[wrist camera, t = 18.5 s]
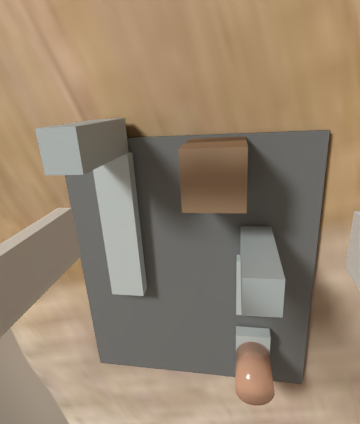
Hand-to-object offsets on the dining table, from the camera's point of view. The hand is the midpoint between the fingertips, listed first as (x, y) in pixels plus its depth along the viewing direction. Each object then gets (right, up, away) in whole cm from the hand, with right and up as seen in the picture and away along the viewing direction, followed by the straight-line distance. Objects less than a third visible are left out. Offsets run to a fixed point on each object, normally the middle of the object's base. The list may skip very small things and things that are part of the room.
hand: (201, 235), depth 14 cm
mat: (0, -6, +22) cm, 23 cm away
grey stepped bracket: (-8, +1, +21) cm, 22 cm away
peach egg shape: (+8, -16, +22) cm, 29 cm away
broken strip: (+8, -10, +22) cm, 26 cm away
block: (+3, +6, +17) cm, 18 cm away
